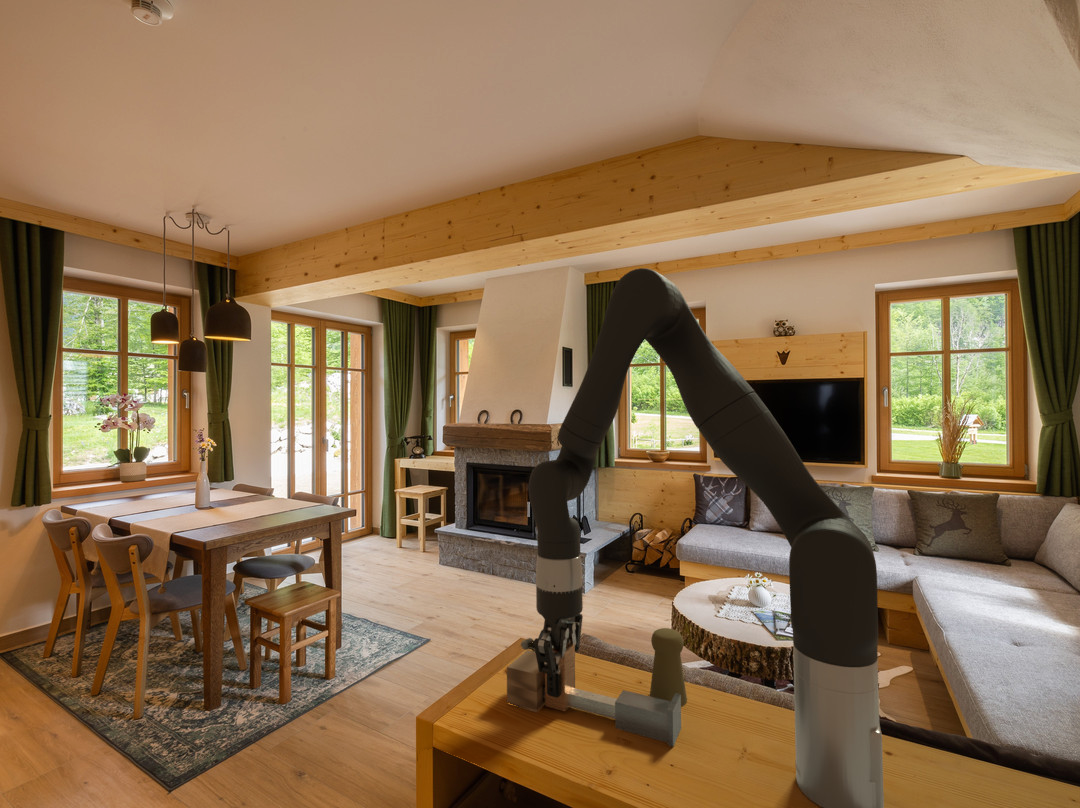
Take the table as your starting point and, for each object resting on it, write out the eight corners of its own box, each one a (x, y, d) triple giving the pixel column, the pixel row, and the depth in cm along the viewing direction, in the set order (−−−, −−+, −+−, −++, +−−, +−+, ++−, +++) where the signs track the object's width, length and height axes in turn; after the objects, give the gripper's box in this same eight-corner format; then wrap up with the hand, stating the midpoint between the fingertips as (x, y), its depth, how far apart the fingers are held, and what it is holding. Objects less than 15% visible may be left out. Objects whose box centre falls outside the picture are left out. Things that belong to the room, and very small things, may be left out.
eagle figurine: (562, 667, 96) (577, 639, 104) (539, 634, 96) (556, 608, 104) (532, 682, 99) (549, 653, 107) (510, 649, 99) (529, 623, 108)
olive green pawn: (688, 710, 83) (687, 640, 84) (649, 706, 85) (648, 637, 85) (685, 690, 89) (684, 625, 90) (649, 687, 90) (648, 622, 91)
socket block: (556, 691, 89) (555, 656, 89) (536, 712, 83) (536, 674, 83) (527, 684, 92) (527, 649, 92) (507, 704, 86) (506, 666, 86)
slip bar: (636, 714, 81) (635, 656, 81) (627, 728, 78) (627, 667, 78) (533, 688, 90) (533, 635, 90) (522, 699, 86) (521, 644, 86)
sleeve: (681, 728, 79) (680, 694, 79) (673, 746, 74) (672, 711, 74) (624, 713, 83) (624, 681, 83) (614, 730, 78) (613, 696, 78)
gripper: (561, 599, 77) (562, 717, 77) (596, 573, 90) (598, 674, 90) (517, 592, 81) (518, 704, 81) (557, 568, 94) (558, 665, 93)
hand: (560, 688), depth 85 cm, fingers closed on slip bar, 4 cm apart
